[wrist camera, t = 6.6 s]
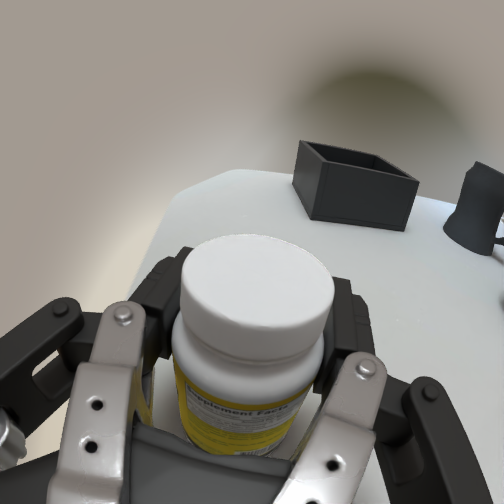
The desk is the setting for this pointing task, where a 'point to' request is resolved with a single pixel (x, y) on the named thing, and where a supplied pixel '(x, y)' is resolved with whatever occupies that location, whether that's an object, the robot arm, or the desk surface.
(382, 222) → the bin
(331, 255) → the desk surface
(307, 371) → the supplement bottle
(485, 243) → the mug
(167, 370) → the desk surface
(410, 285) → the desk surface
